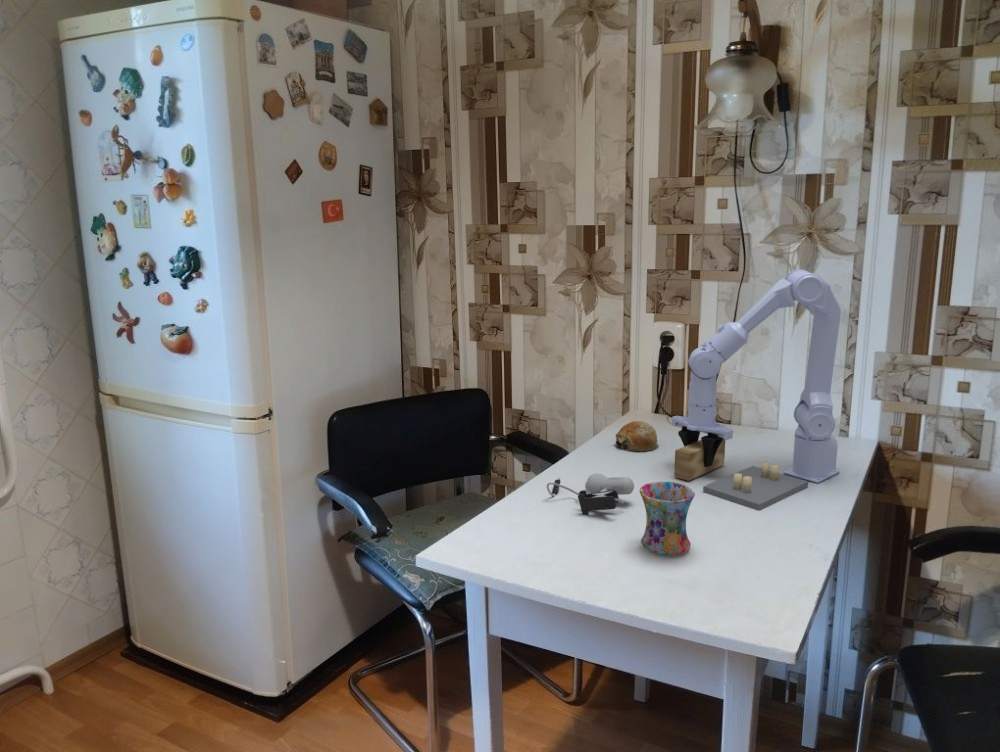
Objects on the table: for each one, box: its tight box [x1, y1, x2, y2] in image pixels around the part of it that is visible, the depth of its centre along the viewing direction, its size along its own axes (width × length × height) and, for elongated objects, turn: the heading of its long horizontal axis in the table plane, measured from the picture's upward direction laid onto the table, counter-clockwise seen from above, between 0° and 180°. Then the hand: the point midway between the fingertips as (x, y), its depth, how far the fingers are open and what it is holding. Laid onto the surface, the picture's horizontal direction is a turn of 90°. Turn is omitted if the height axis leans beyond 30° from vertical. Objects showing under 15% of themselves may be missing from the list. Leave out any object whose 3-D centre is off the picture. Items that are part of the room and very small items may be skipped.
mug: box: [639, 480, 696, 556], centre depth 139 cm, size 12×9×11 cm
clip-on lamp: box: [546, 473, 635, 516], centre depth 159 cm, size 12×6×18 cm
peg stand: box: [702, 461, 809, 511], centre depth 164 cm, size 18×13×4 cm
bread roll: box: [615, 420, 660, 452], centre depth 192 cm, size 10×10×8 cm
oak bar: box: [673, 439, 726, 482], centre depth 174 cm, size 14×4×6 cm, turn 133°
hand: (700, 463), depth 174 cm, fingers closed on oak bar, 4 cm apart
